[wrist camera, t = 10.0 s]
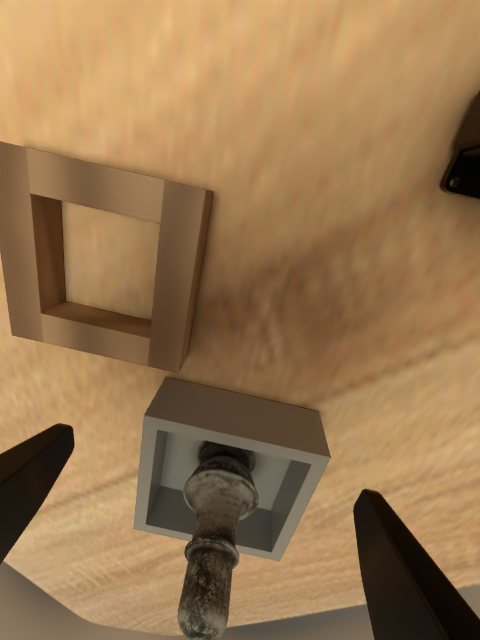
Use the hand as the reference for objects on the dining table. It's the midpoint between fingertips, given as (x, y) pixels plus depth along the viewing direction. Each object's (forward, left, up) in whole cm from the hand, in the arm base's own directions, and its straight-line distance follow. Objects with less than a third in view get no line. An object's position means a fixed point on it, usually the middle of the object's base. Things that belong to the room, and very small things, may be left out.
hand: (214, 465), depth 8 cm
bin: (-1, +14, -13) cm, 19 cm away
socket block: (+10, -1, -13) cm, 16 cm away
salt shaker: (-1, +13, -12) cm, 18 cm away
